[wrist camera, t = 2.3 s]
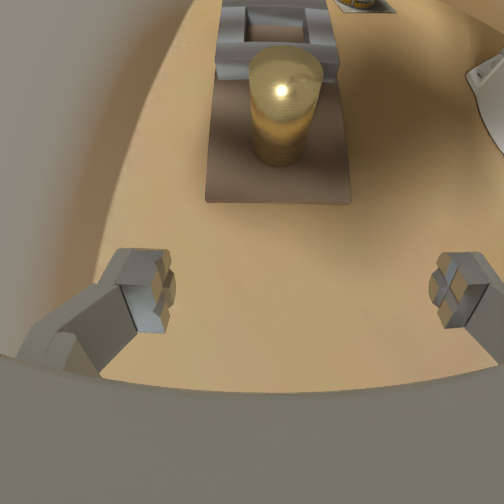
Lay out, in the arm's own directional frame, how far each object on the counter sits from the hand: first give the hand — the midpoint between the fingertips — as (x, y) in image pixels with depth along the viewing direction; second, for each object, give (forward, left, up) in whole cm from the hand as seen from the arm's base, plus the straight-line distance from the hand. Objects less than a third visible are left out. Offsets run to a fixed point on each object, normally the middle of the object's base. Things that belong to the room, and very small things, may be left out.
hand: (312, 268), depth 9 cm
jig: (-14, -13, -17) cm, 25 cm away
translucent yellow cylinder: (-9, -8, -16) cm, 20 cm away
